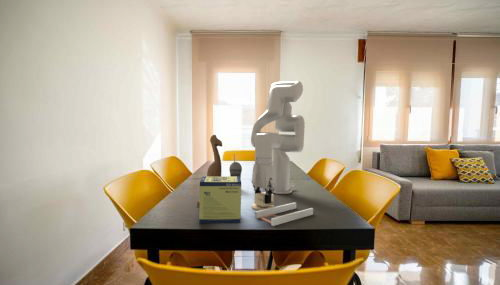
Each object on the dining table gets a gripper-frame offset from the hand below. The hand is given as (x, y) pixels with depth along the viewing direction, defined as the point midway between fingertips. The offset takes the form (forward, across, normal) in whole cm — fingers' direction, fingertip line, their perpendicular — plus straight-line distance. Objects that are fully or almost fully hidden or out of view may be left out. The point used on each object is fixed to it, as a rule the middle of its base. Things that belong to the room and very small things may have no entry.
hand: (262, 201), depth 114 cm
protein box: (+3, +2, -22) cm, 23 cm away
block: (+2, 0, +1) cm, 2 cm away
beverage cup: (+3, -34, +8) cm, 35 cm away
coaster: (+3, 0, 0) cm, 3 cm away
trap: (+3, +14, -6) cm, 16 cm away
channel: (+3, +14, 0) cm, 14 cm away
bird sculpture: (+3, -16, -16) cm, 23 cm away
